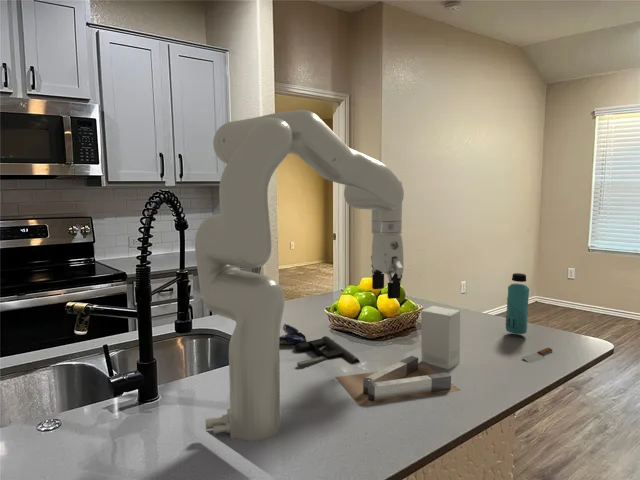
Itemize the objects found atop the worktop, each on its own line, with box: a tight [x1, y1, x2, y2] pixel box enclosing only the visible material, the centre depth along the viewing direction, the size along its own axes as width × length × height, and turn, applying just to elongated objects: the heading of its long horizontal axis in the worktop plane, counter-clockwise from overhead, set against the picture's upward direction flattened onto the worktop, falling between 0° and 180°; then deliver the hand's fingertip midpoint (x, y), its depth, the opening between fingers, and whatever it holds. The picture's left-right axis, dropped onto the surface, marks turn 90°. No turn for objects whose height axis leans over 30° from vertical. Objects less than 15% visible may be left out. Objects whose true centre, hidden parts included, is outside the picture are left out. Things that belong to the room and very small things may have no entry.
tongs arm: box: [363, 355, 419, 394], centre depth 112 cm, size 20×2×3 cm, turn 136°
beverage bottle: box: [504, 272, 530, 335], centre depth 148 cm, size 6×7×20 cm
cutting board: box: [335, 364, 461, 407], centre depth 111 cm, size 25×15×2 cm, turn 108°
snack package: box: [279, 323, 308, 345], centre depth 142 cm, size 12×6×12 cm
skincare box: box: [420, 305, 461, 370], centre depth 123 cm, size 8×7×16 cm
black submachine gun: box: [294, 335, 361, 369], centre depth 129 cm, size 3×20×16 cm
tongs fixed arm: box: [368, 372, 452, 401], centre depth 105 cm, size 20×2×3 cm, turn 108°
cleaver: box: [521, 347, 553, 364], centre depth 131 cm, size 13×2×5 cm
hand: (385, 293), depth 121 cm, fingers open, 9 cm apart
